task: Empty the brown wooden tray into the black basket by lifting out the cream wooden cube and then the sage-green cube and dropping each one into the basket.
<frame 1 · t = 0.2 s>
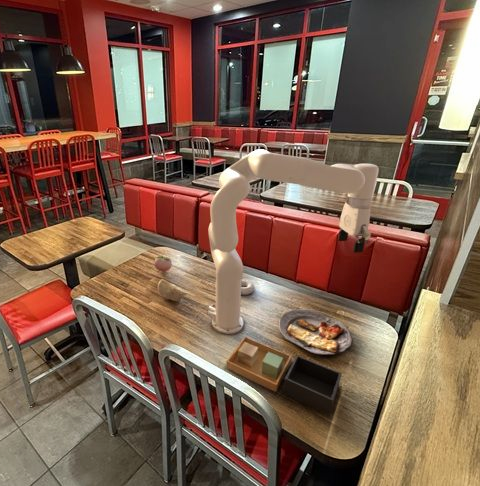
hand: (349, 246, 113), 31 cm above the table, tool pointing down, fingers open, 9 cm apart
brown wooden tray: (258, 365, 104), on the table
food plate: (313, 334, 117), on the table
decorative fruit: (163, 271, 164), on the table
sage cube: (271, 370, 102), resting on brown wooden tray
black basket: (310, 391, 95), on the table
donut: (243, 290, 145), on the table
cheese: (176, 298, 142), on the table
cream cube: (247, 360, 106), resting on brown wooden tray
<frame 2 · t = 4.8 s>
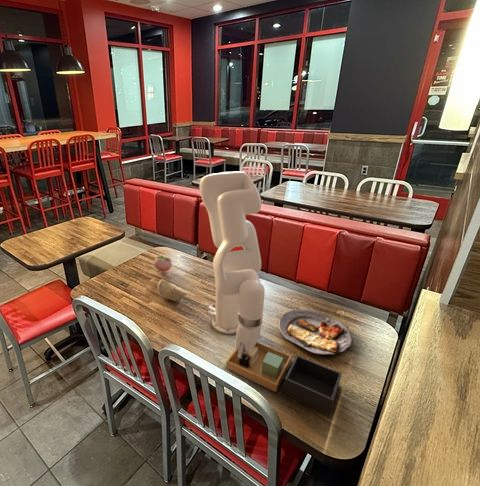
hand: (247, 359, 106), 1 cm above the table, tool pointing down, fingers closed on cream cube, 5 cm apart
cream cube: (247, 360, 106), resting on brown wooden tray, touching gripper
everything else where it was.
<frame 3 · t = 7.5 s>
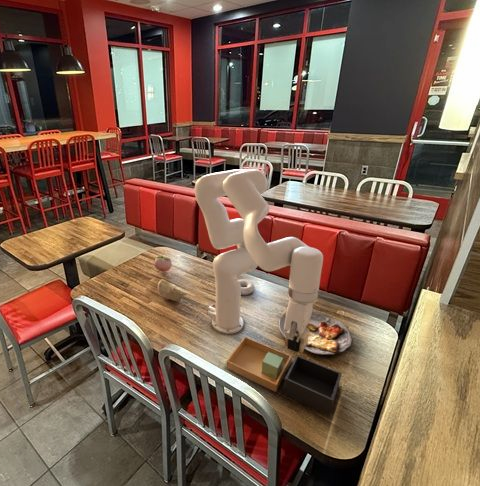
hand: (296, 343, 91), 16 cm above the table, tool pointing down, fingers closed on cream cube, 5 cm apart
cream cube: (296, 344, 91), point 16 cm above the table, touching gripper
everything else where it was.
when the fingers open (6 cm above the table, at t = 10.0 s): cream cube drops 6 cm, resting on black basket.
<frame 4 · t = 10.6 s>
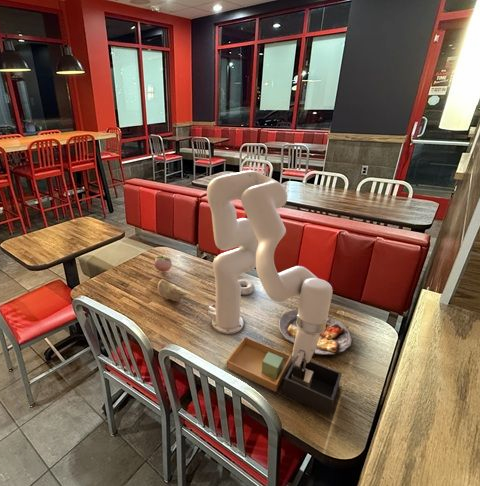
hand: (303, 366, 93), 8 cm above the table, tool pointing down, fingers open, 9 cm apart
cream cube: (300, 385, 96), resting on black basket
everything else where it was.
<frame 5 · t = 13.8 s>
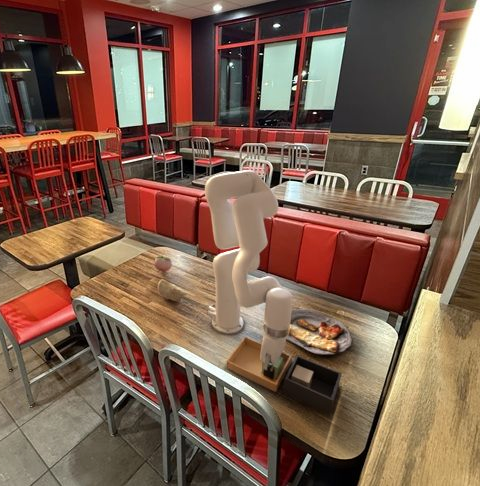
hand: (271, 370, 102), 1 cm above the table, tool pointing down, fingers closed on sage cube, 5 cm apart
sage cube: (271, 370, 102), resting on brown wooden tray, touching gripper
everything else where it was.
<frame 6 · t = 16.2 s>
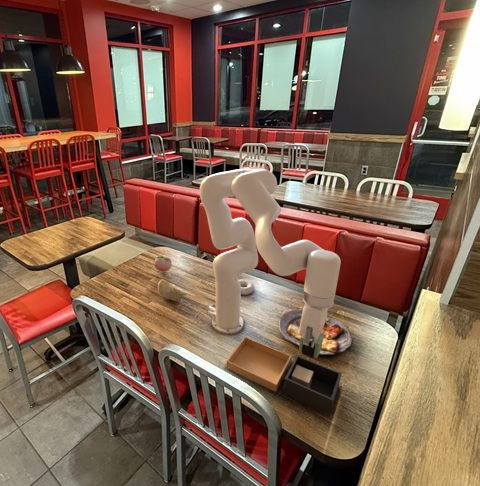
hand: (310, 348, 89), 16 cm above the table, tool pointing down, fingers closed on sage cube, 5 cm apart
sage cube: (310, 349, 89), point 16 cm above the table, touching gripper
everything else where it was.
when the fingers open (6 cm above the table, at t = 18.9 s): sage cube drops 6 cm, resting on black basket.
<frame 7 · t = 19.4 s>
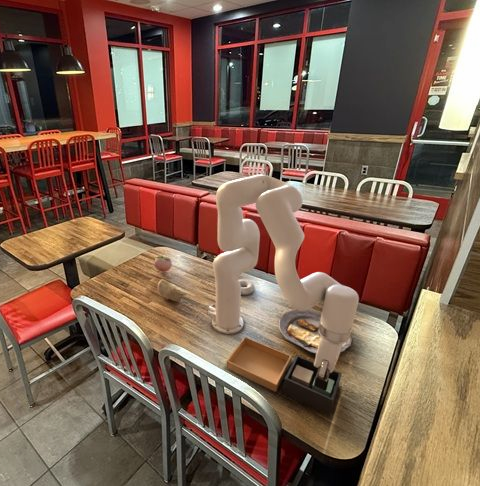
hand: (324, 375, 90), 8 cm above the table, tool pointing down, fingers open, 9 cm apart
sage cube: (321, 394, 93), resting on black basket
everything else where it was.
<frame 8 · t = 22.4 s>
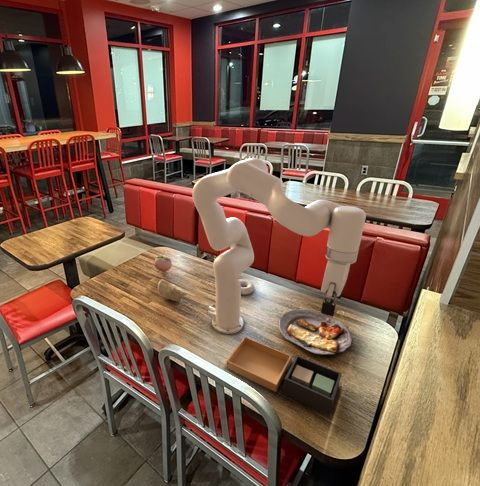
hand: (331, 305, 90), 26 cm above the table, tool pointing down, fingers open, 9 cm apart
nothing on the table moved.
at the end: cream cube inside the target area in the black basket (3.0 cm from its centre), point 0.4 cm above the black basket's base; sage cube inside the target area in the black basket (3.0 cm from its centre), point 0.4 cm above the black basket's base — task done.
